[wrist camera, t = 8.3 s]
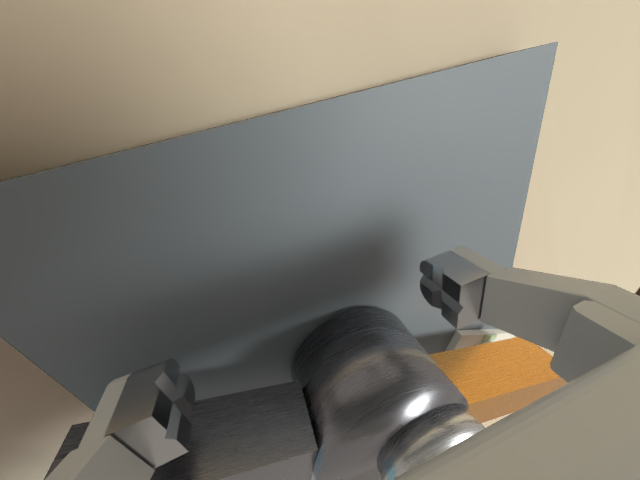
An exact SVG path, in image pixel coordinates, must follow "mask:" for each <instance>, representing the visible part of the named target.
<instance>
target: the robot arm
mask: <svg viewBox="0 0 640 480" xmlns="http://www.w3.org/2000/svg"><path fill="white" fill-rule="evenodd" d="M420 272H421V273H422V274H423V276H422V278H421V280H420V290H421V292H422V295H423V297H424V298H425V299H426V301H427V302H428V303H429V304H430V305H431V306H433V307H436V308H439V309H441V315H442V316H443V317H444V318H445V319H446V320H447V321H448V322H449V323H450V324H451V325H453V326H454V327H455V328H456V329H459V328H462V327H464V326H467V325H469V324H471V323H474V322H476V321H479V320H480V322H482V323H485V324H487V325H490V326H492V327H495V328H497V329H500V330H502V331H505V332H507V333H509V334H512V335H514V336H517V337H519V338H522V339H524V340H527V341H529V342H532V343H534V344H536V345H539V346H541V347H544V348H546V349H549V350H551V351H554V352H555V353H554V355H553V358H552V360H551V363H550V367H551V370H552V371H554V372H555V373H556V374H557V375H559V376H560V377H561V378H562V379H564V380H565V381H566V382H567V384H565V385H563V386H561V387H559V388H558V389H556V390H554V391H552V392H550V393H548V394H547V395H545V396H543V397H541V398H539V399H538V400H536V401H534V402H532V403H530V404H528V405H527V406H525V407H523V408H521V409H519V410H517V411H516V412H514V413H512V414H510V415H508V416H507V417H505V418H503V419H501V420H499V421H497V422H496V423H494V424H492V425H490V426H488V427H487V428H485V429H483V430H481V431H479V432H477V433H476V434H474V435H472V436H470V437H468V438H467V439H465V440H463V441H461V442H459V443H457V444H456V445H454V446H452V447H450V448H448V449H447V450H445V451H443V452H441V453H439V454H437V455H436V456H434V457H432V458H430V459H428V460H427V461H425V462H423V463H421V464H419V465H417V466H416V467H414V468H412V469H410V470H408V471H407V472H405V473H403V474H401V475H399V476H397V477H396V478H394V479H392V480H640V296H638V295H636V294H634V293H631V292H629V291H627V290H625V289H622V288H620V287H618V286H615V285H612V284H606V283H600V282H594V281H589V280H583V279H577V278H571V277H565V276H560V275H554V274H548V273H542V272H536V271H531V270H525V269H519V268H513V267H507V268H503V267H501V266H500V265H498V264H496V263H494V262H492V261H490V260H489V259H487V258H485V257H483V256H481V255H479V254H478V253H476V252H474V251H472V250H470V249H468V248H467V247H465V246H457V247H455V248H452V249H450V250H447V251H446V252H443V253H440V254H438V255H435V256H433V257H430V258H428V259H425V260H423V261H421V263H420ZM179 369H180V365H179V364H178V363H177V361H176V360H175V359H168V360H165V361H162V362H160V363H157V364H154V365H151V366H149V367H146V368H143V369H140V370H138V371H135V372H133V373H131V374H128V375H125V376H122V377H119V378H117V379H114V380H113V381H111V382H110V383H109V384H108V385H107V387H106V389H105V391H104V394H103V396H102V398H101V400H100V402H99V404H98V406H97V408H96V411H95V413H94V415H93V417H92V419H91V421H90V423H89V426H88V428H87V430H86V432H85V434H84V436H83V438H82V440H81V443H80V445H79V447H78V449H75V450H73V451H71V452H70V453H69V454H68V455H67V456H66V457H65V458H64V459H63V460H62V461H61V463H60V464H59V465H58V466H57V467H56V468H55V469H54V470H53V471H52V472H51V474H50V475H49V476H48V477H47V478H46V479H45V480H150V479H151V477H152V475H153V473H154V471H155V470H154V468H156V467H159V466H161V465H163V464H165V463H167V462H169V461H171V460H173V459H175V458H177V457H179V456H181V455H183V454H185V453H187V452H189V446H190V438H191V431H192V424H191V422H190V421H189V420H188V417H189V416H190V414H191V413H192V411H193V409H194V407H195V390H194V385H193V383H192V381H191V379H190V378H189V376H188V375H186V374H182V373H179Z"/></svg>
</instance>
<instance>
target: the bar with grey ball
mask: <svg viewBox="0 0 640 480" xmlns="http://www.w3.org/2000/svg"><path fill="white" fill-rule="evenodd" d="M552 358H553V357H552V356H551V355H550V354H548V353H547V352H546V351H544V350H543V349H542V348H540V347H539V346H538V345H536V344H534V343H532V342H529V341H527V340H524V339H522V338H519V337H516V338H511V339H505V340H500V341H495V342H490V343H485V344H480V345H475V346H470V347H465V348H460V349H455V350H450V351H445V352H440V353H435V354H430V355H429V354H428V353H427V351H426V350H425V349H424V348H423V347H422V345H421V344H420V343H419V342H418V341H417V339H416V338H415V337H414V336H413V335H412V333H411V332H410V331H409V330H408V329H407V327H406V326H405V325H404V324H403V323H402V322H401V320H400V319H399V318H398V317H397V316H396V315H395V314H393V313H391V312H390V311H387V310H384V309H380V308H361V309H355V310H351V311H348V312H345V313H342V314H340V315H337V316H335V317H333V318H331V319H330V320H328V321H326V322H325V323H323V324H322V325H320V326H319V327H318V328H316V329H315V330H314V331H313V332H312V333H311V334H310V335H309V336H308V337H307V338H306V339H305V340H304V341H303V343H302V344H301V345H300V347H299V348H298V350H297V352H296V354H295V356H294V359H293V361H292V366H291V378H292V382H288V383H283V384H278V385H273V386H268V387H263V388H258V389H253V390H248V391H243V392H238V393H232V394H227V395H222V396H217V397H212V398H207V399H202V400H197V401H195V407H194V409H193V411H192V413H191V414H190V416H189V417H188V420H189V421H190V422H191V424H192V431H191V438H190V446H189V452H187V453H185V454H183V455H181V456H179V457H177V458H175V459H173V460H171V461H169V462H167V463H165V464H163V465H161V466H159V467H156V468H154V470H155V471H154V473H153V475H152V477H151V479H150V480H311V479H312V474H314V478H315V480H392V479H394V478H396V477H397V476H399V475H401V474H403V473H405V472H407V471H408V470H410V469H412V468H414V467H416V466H417V465H419V464H421V463H423V462H425V461H427V460H428V459H430V458H432V457H434V456H436V455H437V454H439V453H441V452H443V451H445V450H447V449H448V448H450V447H452V446H454V445H456V444H457V443H459V442H461V441H463V440H465V439H467V438H468V437H470V436H472V435H474V434H476V433H477V432H479V431H481V430H483V429H485V427H484V426H483V425H482V423H483V422H486V421H489V420H492V419H495V418H498V417H501V416H504V415H506V414H509V413H512V412H515V411H517V410H519V409H521V408H523V407H525V406H527V405H528V404H530V403H532V402H534V401H536V400H538V399H539V398H541V397H543V396H545V395H547V394H548V393H550V392H552V391H554V390H556V389H558V388H559V387H561V386H563V385H565V384H567V382H566V381H565V380H564V379H562V378H561V377H560V376H559V375H557V374H556V373H555V372H554V371H552V370H551V367H550V363H551V360H552ZM89 423H90V422H86V423H81V424H76V425H72V426H71V428H70V430H69V432H68V434H67V436H66V438H65V440H64V442H63V444H62V446H61V448H60V449H59V451H58V453H57V455H56V457H55V459H54V461H53V463H52V465H51V467H50V469H49V471H48V473H47V474H46V476H45V478H44V480H45V479H46V478H47V477H48V476H49V475H50V474H51V472H52V471H53V470H54V469H55V468H56V467H57V466H58V465H59V464H60V463H61V461H62V460H63V459H64V458H65V457H66V456H67V455H68V454H69V453H70V452H71V451H73V450H75V449H78V447H79V445H80V443H81V440H82V438H83V436H84V434H85V432H86V430H87V428H88V426H89Z"/></svg>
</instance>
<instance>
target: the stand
mask: <svg viewBox="0 0 640 480" xmlns="http://www.w3.org/2000/svg"><path fill="white" fill-rule="evenodd" d="M557 44H558V42H554V43H549V44H545V45H541V46H537V47H532V48H528V49H524V50H520V51H516V52H512V53H508V54H504V55H500V56H496V57H492V58H488V59H484V60H480V61H476V62H472V63H468V64H464V65H460V66H456V67H452V68H448V69H444V70H440V71H436V72H432V73H428V74H424V75H421V76H417V77H413V78H409V79H405V80H401V81H397V82H393V83H389V84H385V85H381V86H377V87H373V88H369V89H365V90H361V91H357V92H353V93H349V94H345V95H341V96H337V97H333V98H330V99H326V100H322V101H318V102H314V103H310V104H306V105H302V106H298V107H294V108H290V109H286V110H282V111H278V112H274V113H270V114H266V115H262V116H258V117H254V118H250V119H246V120H242V121H239V122H235V123H231V124H227V125H223V126H219V127H215V128H211V129H207V130H203V131H199V132H195V133H191V134H187V135H183V136H179V137H175V138H171V139H167V140H163V141H159V142H155V143H151V144H148V145H144V146H140V147H136V148H132V149H128V150H124V151H120V152H116V153H112V154H108V155H104V156H100V157H96V158H92V159H88V160H84V161H80V162H76V163H72V164H68V165H64V166H60V167H57V168H53V169H49V170H45V171H41V172H37V173H33V174H29V175H25V176H21V177H17V178H13V179H9V180H5V181H1V182H0V337H1V338H3V339H4V340H5V341H6V342H8V343H9V344H10V345H12V346H13V347H14V348H15V349H17V350H18V351H19V352H20V353H22V354H23V355H24V356H25V357H27V358H28V359H29V360H30V361H32V362H33V363H34V364H35V365H37V366H38V367H39V368H40V369H42V370H43V371H44V372H45V373H47V374H48V375H49V376H50V377H52V378H53V379H54V380H56V381H57V382H58V383H59V384H61V385H62V386H63V387H64V388H66V389H67V390H68V391H69V392H71V393H72V394H73V395H74V396H76V397H77V398H78V399H79V400H81V401H82V402H83V403H84V404H86V405H87V406H88V407H89V408H91V409H92V410H93V411H94V412H95V411H96V408H97V406H98V404H99V402H100V400H101V398H102V396H103V394H104V391H105V389H106V387H107V385H108V384H109V383H110V382H111V381H113V380H114V379H117V378H119V377H122V376H125V375H128V374H131V373H133V372H135V371H138V370H140V369H143V368H146V367H149V366H151V365H154V364H157V363H160V362H162V361H165V360H168V359H175V360H176V361H177V363H178V364H179V365H180V369H179V373H182V374H186V375H188V376H189V378H190V379H191V381H192V383H193V385H194V390H195V401H197V400H202V399H207V398H212V397H217V396H222V395H227V394H232V393H238V392H243V391H248V390H253V389H258V388H263V387H268V386H273V385H278V384H283V383H288V382H292V378H291V366H292V361H293V359H294V356H295V354H296V352H297V350H298V348H299V347H300V345H301V344H302V343H303V341H304V340H305V339H306V338H307V337H308V336H309V335H310V334H311V333H312V332H313V331H314V330H315V329H316V328H318V327H319V326H320V325H322V324H323V323H325V322H326V321H328V320H330V319H331V318H333V317H335V316H337V315H340V314H342V313H345V312H348V311H351V310H355V309H361V308H380V309H384V310H387V311H390V312H391V313H393V314H395V315H396V316H397V317H398V318H399V319H400V320H401V322H402V323H403V324H404V325H405V326H406V327H407V329H408V330H409V331H410V332H411V333H412V335H413V336H414V337H415V338H416V339H417V341H418V342H419V343H420V344H421V345H422V347H423V348H424V349H425V350H426V351H427V353H428V354H429V355H430V354H435V353H440V352H445V351H450V350H455V349H460V348H465V347H470V346H475V345H480V344H485V343H490V342H495V341H500V340H505V339H511V338H513V337H514V335H512V334H509V333H507V332H505V331H502V330H500V329H497V328H495V327H492V326H490V325H487V324H485V323H482V322H480V320H479V321H476V322H474V323H471V324H469V325H467V326H464V327H462V328H459V329H456V328H455V327H454V326H453V325H451V324H450V323H449V322H448V321H447V320H446V319H445V318H444V317H443V316H442V315H441V309H439V308H436V307H433V306H431V305H430V304H429V303H428V302H427V301H426V299H425V298H424V297H423V295H422V292H421V290H420V280H421V278H422V276H423V274H422V273H421V272H420V263H421V261H423V260H425V259H428V258H430V257H433V256H435V255H438V254H440V253H443V252H446V251H447V250H450V249H452V248H455V247H457V246H465V247H467V248H468V249H470V250H472V251H474V252H476V253H478V254H479V255H481V256H483V257H485V258H487V259H489V260H490V261H492V262H494V263H496V264H498V265H500V266H501V267H503V268H507V267H512V266H513V261H514V256H515V252H516V247H517V242H518V237H519V232H520V227H521V222H522V217H523V212H524V207H525V202H526V197H527V192H528V187H529V182H530V178H531V173H532V168H533V163H534V158H535V153H536V148H537V143H538V138H539V133H540V128H541V123H542V118H543V113H544V108H545V104H546V99H547V94H548V89H549V84H550V79H551V74H552V69H553V64H554V59H555V54H556V49H557ZM311 480H315V478H314V474H312V479H311Z"/></svg>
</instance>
